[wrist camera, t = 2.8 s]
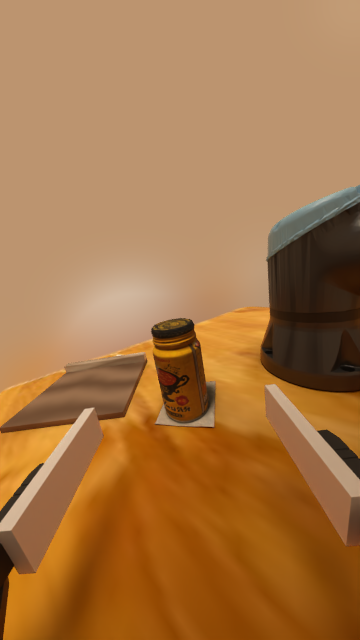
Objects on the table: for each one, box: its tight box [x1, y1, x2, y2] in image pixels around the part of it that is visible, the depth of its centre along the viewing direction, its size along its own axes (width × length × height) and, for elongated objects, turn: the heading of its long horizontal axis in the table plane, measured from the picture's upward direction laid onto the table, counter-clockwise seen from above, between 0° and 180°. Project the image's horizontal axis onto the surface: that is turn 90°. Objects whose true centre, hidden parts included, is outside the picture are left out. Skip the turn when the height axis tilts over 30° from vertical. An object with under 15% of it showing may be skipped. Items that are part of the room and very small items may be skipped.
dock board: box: [0, 352, 147, 433], centre depth 31 cm, size 16×18×2 cm
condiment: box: [151, 318, 215, 427], centre depth 23 cm, size 7×8×12 cm
